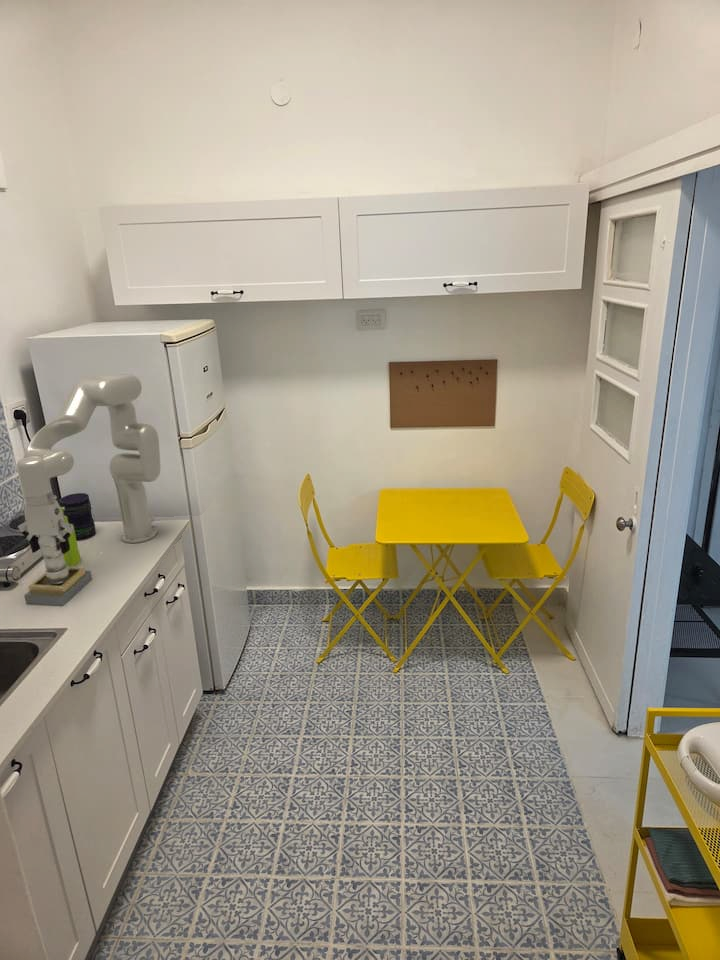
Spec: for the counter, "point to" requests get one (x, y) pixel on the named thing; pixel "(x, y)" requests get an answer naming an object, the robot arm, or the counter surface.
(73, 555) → the soap dispenser
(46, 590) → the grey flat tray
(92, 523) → the storage jar
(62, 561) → the plastic bottle
